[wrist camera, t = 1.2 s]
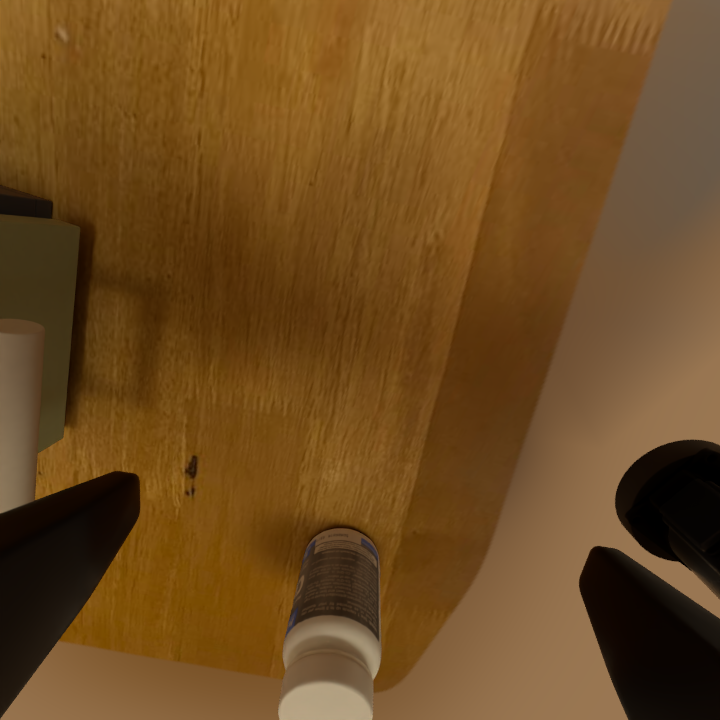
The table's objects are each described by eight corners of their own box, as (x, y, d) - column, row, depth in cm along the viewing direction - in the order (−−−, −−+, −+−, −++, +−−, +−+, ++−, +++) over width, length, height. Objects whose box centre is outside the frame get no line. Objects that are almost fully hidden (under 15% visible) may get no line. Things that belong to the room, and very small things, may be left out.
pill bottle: (296, 531, 23) (253, 682, 15) (371, 520, 23) (368, 669, 15) (315, 591, 24) (285, 759, 16) (386, 581, 24) (391, 750, 16)
